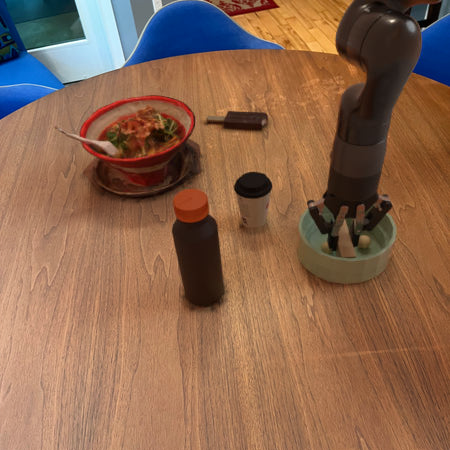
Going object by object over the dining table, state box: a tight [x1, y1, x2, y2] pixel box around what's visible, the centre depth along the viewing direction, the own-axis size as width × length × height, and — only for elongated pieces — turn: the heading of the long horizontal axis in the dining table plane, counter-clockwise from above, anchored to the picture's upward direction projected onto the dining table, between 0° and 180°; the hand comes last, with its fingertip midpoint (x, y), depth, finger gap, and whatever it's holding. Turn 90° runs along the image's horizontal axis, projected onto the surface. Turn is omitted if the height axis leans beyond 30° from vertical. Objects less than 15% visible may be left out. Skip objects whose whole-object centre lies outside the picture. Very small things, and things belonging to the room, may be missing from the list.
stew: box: [54, 94, 202, 200], centre depth 99 cm, size 28×24×16 cm
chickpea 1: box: [321, 241, 334, 255], centre depth 84 cm, size 2×2×2 cm
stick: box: [336, 219, 356, 259], centre depth 82 cm, size 2×9×2 cm, turn 3°
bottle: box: [171, 188, 225, 308], centre depth 74 cm, size 7×7×20 cm
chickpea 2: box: [358, 235, 371, 249], centre depth 85 cm, size 2×2×2 cm
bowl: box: [296, 205, 398, 285], centre depth 83 cm, size 16×16×6 cm
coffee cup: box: [233, 171, 273, 230], centre depth 89 cm, size 7×7×10 cm
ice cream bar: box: [205, 110, 269, 131], centre depth 116 cm, size 5×2×15 cm
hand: (341, 247), depth 83 cm, fingers closed on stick, 2 cm apart
